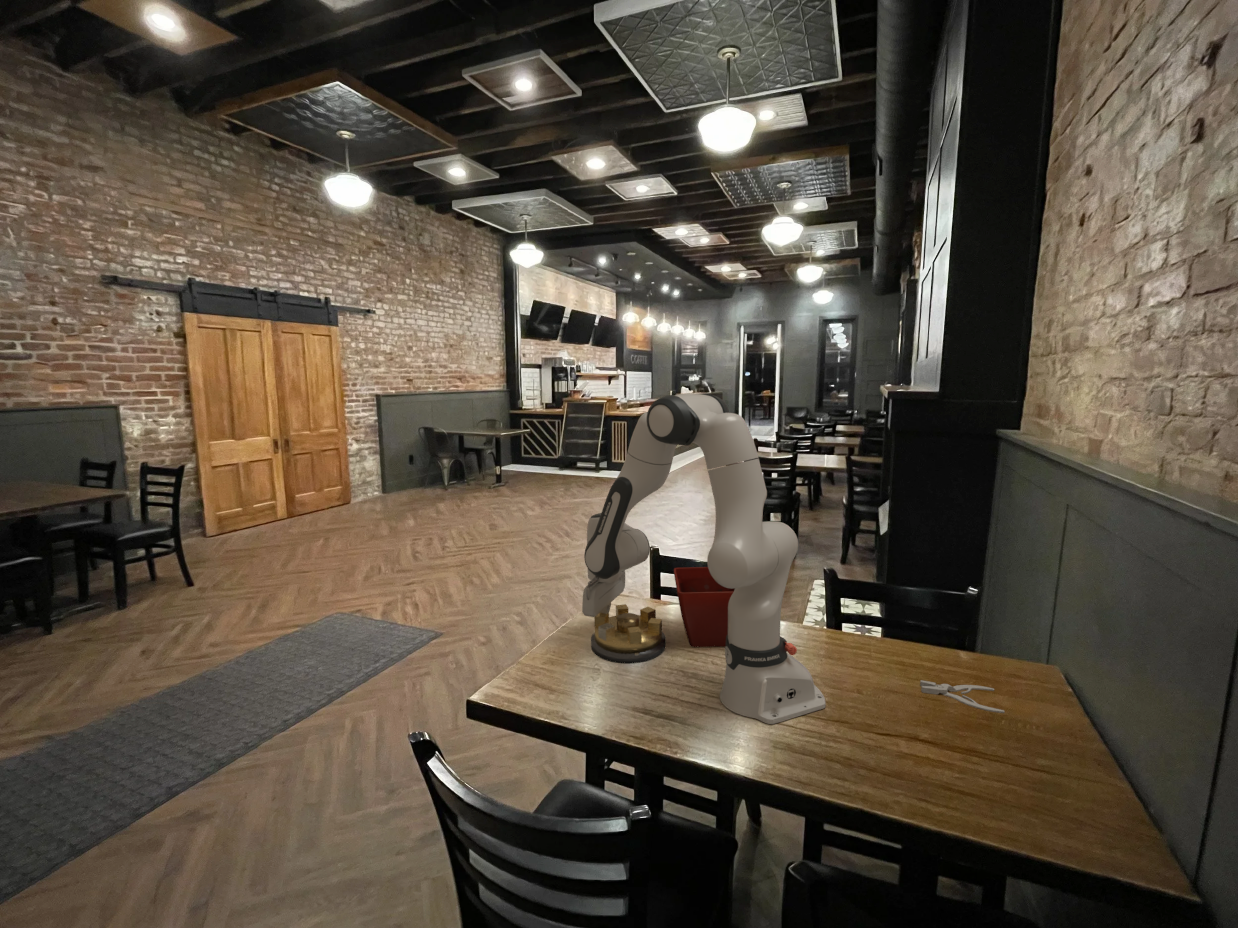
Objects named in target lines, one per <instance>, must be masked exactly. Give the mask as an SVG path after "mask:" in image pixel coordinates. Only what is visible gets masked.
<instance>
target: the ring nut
mask: <svg viewBox="0 0 1238 928" xmlns="http://www.w3.org/2000/svg"><path fill="white" fill-rule="evenodd" d="M639 612H640V613H639V614H636V613H633V612H632V613H631V612H629V607H628V606H627V604H626V603H625V604H617V605H615V615H614V616H613V615H612V616H610V612H609V613H607V614H604V613H599V614H598V615H597V616H596V617H593V618H594V622H593V623H594V632H595V642H596V643H597V645H599V646H600V647H601V648H603V649H605V650H608V651H612V652H616V653H638V652H643V651H647V650H650V649H652V648H654V647H656V646H657V645H658V644H659V643H660V642H661V640H662V632H663V618H662V619H661V618H656V617H657V616H656V615H657V613H656V609H655V608H653V607H650V606H645V607H644V608H641V609H639ZM594 632H593V633H594Z"/></svg>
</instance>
